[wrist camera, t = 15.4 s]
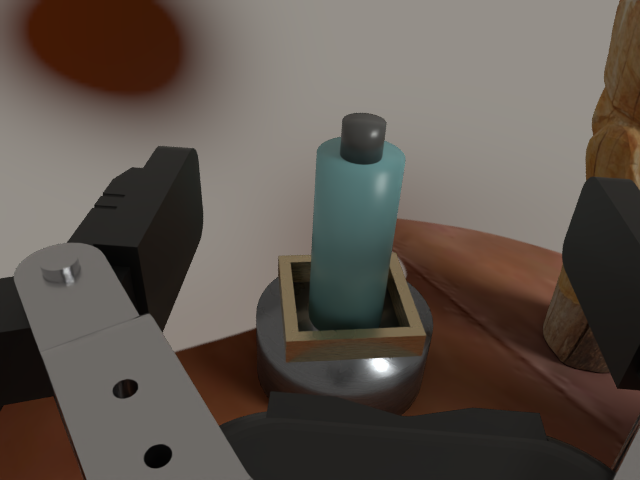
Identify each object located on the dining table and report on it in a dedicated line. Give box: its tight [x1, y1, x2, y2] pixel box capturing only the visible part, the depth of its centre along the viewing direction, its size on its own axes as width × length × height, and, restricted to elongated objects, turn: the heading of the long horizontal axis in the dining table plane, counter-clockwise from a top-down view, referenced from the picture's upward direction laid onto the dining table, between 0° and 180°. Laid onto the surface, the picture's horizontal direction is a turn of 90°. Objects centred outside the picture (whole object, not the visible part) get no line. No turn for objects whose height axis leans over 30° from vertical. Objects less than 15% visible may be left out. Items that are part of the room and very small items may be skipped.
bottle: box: [308, 113, 405, 331], centre depth 36 cm, size 5×5×14 cm
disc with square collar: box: [256, 253, 433, 416], centre depth 41 cm, size 12×12×7 cm
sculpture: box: [543, 0, 640, 373], centre depth 38 cm, size 7×9×30 cm
